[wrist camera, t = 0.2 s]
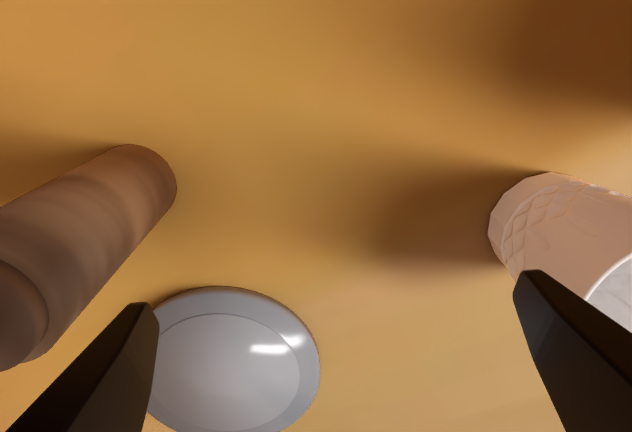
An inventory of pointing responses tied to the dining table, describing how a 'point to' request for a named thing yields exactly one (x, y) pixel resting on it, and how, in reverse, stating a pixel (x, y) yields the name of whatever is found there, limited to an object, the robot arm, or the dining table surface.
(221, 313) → the plate
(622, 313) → the white cup
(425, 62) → the dining table surface
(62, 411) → the robot arm
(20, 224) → the wooden pepper mill
